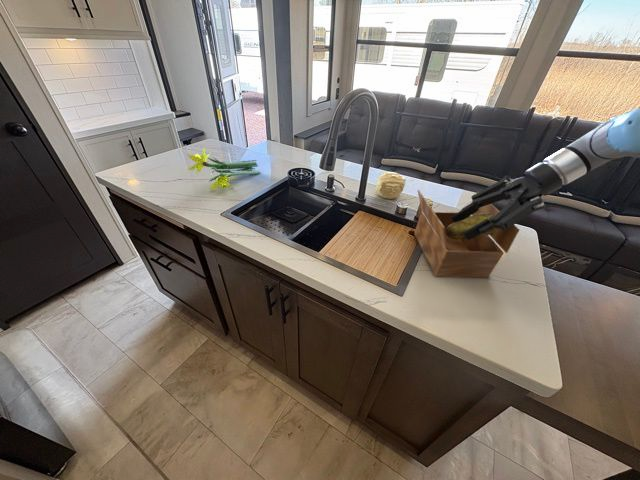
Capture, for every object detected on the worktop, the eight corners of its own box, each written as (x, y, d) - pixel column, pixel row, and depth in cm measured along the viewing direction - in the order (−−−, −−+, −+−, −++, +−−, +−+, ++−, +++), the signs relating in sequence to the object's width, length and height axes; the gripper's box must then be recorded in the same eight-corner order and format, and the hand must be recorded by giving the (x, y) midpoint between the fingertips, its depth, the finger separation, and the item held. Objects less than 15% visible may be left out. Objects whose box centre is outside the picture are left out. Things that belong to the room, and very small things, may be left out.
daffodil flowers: (271, 179, 125) (213, 186, 96) (251, 188, 133) (191, 197, 104) (259, 145, 123) (195, 142, 93) (240, 156, 130) (175, 157, 101)
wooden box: (491, 277, 75) (522, 229, 65) (435, 276, 75) (457, 228, 64) (460, 234, 92) (480, 191, 81) (414, 233, 91) (428, 190, 81)
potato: (441, 225, 76) (450, 202, 71) (487, 233, 74) (500, 210, 69) (444, 242, 70) (454, 217, 65) (495, 251, 67) (509, 226, 63)
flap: (445, 227, 64) (443, 228, 64) (448, 249, 69) (446, 249, 69) (418, 189, 81) (417, 190, 81) (422, 209, 85) (421, 209, 85)
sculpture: (376, 201, 110) (381, 177, 103) (373, 188, 119) (377, 166, 112) (403, 202, 109) (409, 179, 103) (397, 189, 119) (403, 167, 112)
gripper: (590, 205, 54) (483, 260, 63) (529, 168, 70) (450, 217, 79) (583, 181, 50) (470, 243, 60) (520, 148, 66) (438, 201, 76)
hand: (459, 228), depth 69 cm, fingers closed on potato, 7 cm apart
